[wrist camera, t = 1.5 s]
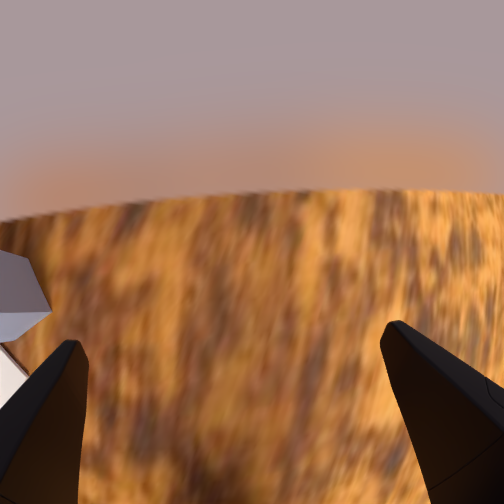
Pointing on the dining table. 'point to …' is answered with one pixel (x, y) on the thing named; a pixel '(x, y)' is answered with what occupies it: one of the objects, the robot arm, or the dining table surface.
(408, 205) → the dining table surface
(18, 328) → the slate blue block
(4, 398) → the letter tile
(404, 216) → the dining table surface
